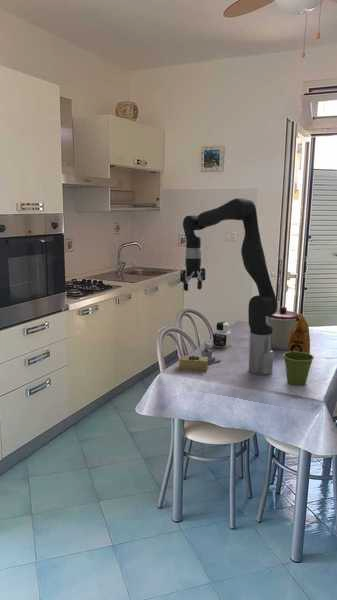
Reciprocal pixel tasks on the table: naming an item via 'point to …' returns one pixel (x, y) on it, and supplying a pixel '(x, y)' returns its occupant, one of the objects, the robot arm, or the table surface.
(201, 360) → the yellow oblong bowl
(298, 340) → the coffee package
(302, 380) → the plant pot
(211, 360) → the hub
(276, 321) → the canister
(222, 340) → the medicine bottle
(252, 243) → the robot arm
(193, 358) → the stand rod
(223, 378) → the table surface
